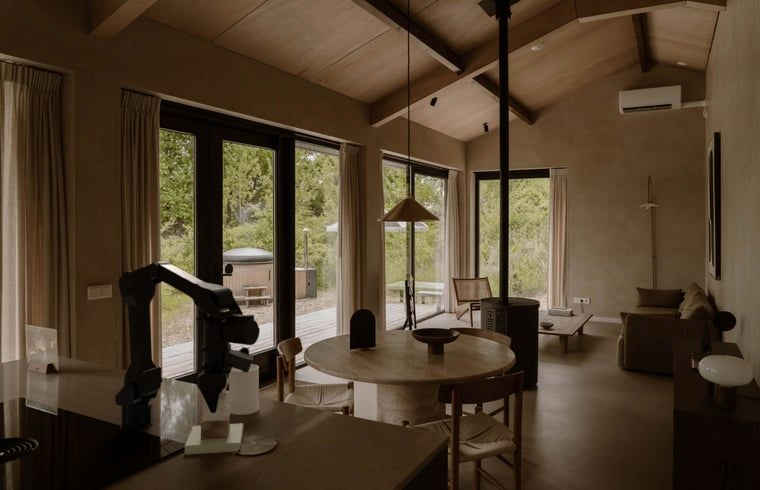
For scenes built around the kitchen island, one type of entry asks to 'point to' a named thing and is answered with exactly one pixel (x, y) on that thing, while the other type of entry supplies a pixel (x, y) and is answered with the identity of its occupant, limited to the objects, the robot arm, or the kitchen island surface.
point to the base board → (214, 441)
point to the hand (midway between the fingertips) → (215, 406)
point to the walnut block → (215, 428)
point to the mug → (243, 391)
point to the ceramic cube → (220, 411)
